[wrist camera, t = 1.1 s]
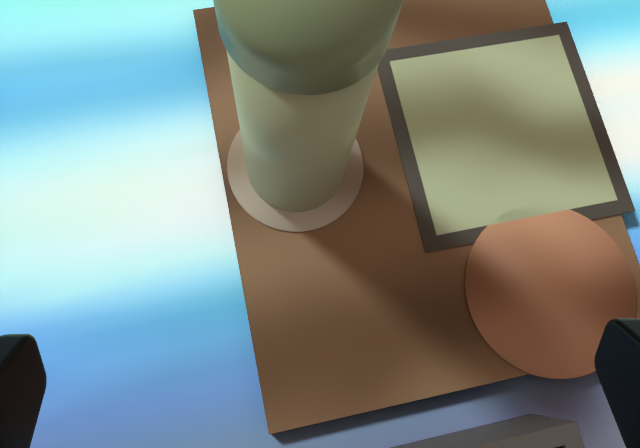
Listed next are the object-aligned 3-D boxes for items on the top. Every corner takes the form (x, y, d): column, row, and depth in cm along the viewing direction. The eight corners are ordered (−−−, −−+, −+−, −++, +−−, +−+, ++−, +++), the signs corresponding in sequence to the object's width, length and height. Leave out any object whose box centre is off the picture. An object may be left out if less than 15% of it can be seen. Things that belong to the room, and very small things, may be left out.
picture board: (674, 352, 23) (686, 351, 22) (272, 446, 21) (271, 449, 20) (537, -31, 27) (544, -41, 27) (195, 18, 25) (192, 8, 25)
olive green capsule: (356, 204, 23) (434, 29, 11) (254, 223, 22) (224, 60, 11) (334, 111, 24) (384, -138, 12) (236, 127, 23) (191, -116, 12)
